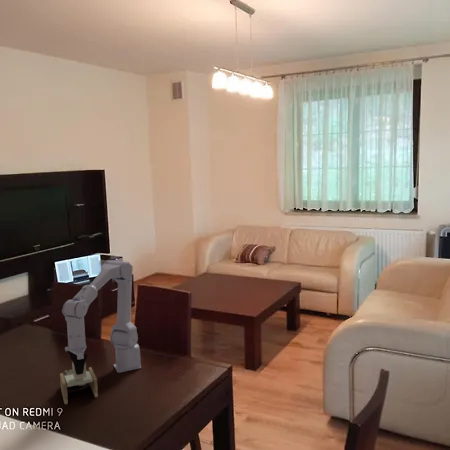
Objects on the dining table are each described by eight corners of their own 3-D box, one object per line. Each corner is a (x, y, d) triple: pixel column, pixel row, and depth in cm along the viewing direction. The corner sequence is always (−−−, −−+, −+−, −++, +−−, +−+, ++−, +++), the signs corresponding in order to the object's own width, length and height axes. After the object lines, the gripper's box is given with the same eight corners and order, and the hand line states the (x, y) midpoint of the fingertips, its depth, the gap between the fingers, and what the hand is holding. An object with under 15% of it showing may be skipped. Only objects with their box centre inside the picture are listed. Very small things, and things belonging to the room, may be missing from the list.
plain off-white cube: (84, 372, 164) (83, 358, 164) (86, 376, 161) (85, 363, 160) (72, 374, 162) (72, 361, 162) (74, 379, 159) (73, 365, 158)
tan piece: (92, 383, 172) (91, 367, 171) (98, 396, 162) (96, 379, 161) (60, 390, 167) (59, 373, 166) (64, 404, 157) (63, 386, 157)
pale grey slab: (88, 376, 171) (87, 367, 171) (93, 388, 162) (92, 378, 162) (64, 381, 167) (63, 372, 167) (67, 393, 158) (67, 384, 158)
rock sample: (81, 382, 165) (71, 361, 169) (65, 395, 166) (56, 374, 170) (98, 382, 175) (88, 362, 179) (83, 394, 175) (74, 375, 179)
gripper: (61, 329, 164) (64, 365, 166) (67, 343, 151) (69, 382, 153) (82, 326, 167) (84, 361, 169) (89, 339, 154) (91, 377, 156)
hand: (78, 371), depth 161 cm, fingers closed on plain off-white cube, 4 cm apart
